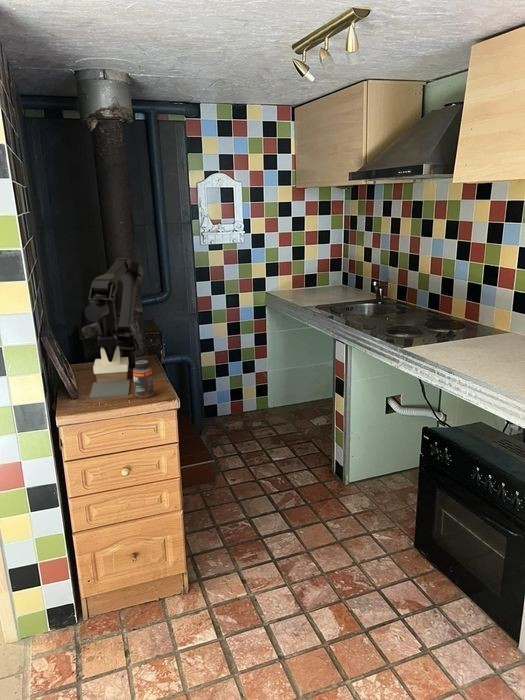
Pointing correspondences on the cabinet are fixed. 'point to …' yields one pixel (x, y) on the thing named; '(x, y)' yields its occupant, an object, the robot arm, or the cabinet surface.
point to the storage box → (111, 376)
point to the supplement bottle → (143, 379)
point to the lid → (111, 363)
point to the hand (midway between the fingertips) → (110, 359)
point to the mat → (110, 389)
